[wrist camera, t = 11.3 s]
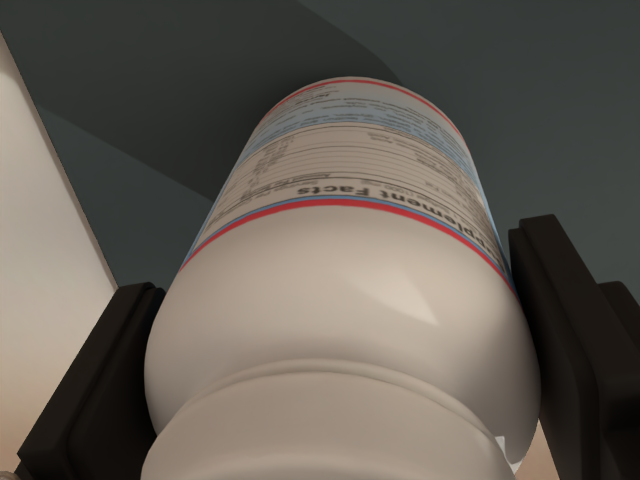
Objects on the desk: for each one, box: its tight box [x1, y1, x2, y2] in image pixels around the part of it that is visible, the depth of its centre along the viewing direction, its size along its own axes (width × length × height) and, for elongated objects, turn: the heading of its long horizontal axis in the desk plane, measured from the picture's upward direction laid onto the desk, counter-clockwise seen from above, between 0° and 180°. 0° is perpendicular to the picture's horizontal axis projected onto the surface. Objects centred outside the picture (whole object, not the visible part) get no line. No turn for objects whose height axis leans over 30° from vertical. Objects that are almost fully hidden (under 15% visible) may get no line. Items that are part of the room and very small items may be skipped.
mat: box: [0, 0, 640, 306], centre depth 17 cm, size 16×14×1 cm
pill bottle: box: [140, 77, 541, 480], centre depth 11 cm, size 6×6×11 cm
